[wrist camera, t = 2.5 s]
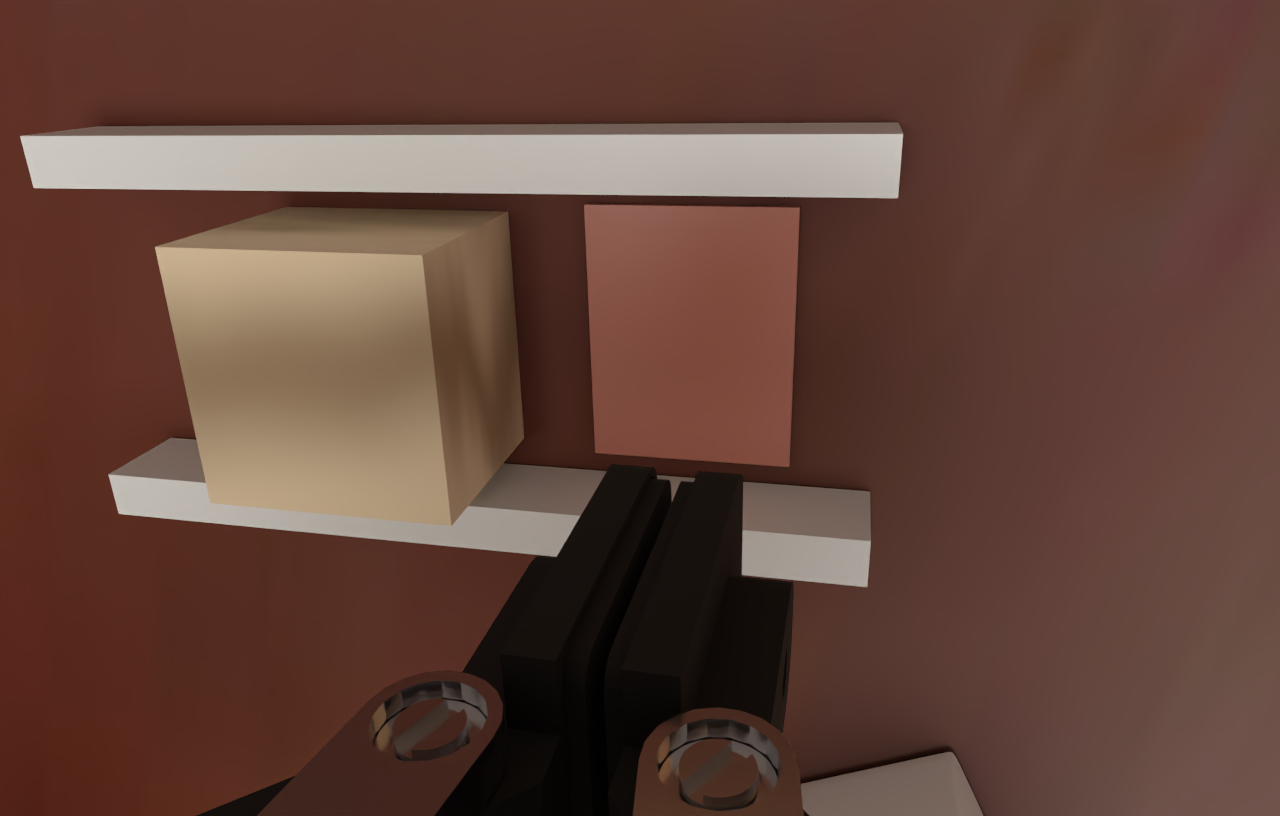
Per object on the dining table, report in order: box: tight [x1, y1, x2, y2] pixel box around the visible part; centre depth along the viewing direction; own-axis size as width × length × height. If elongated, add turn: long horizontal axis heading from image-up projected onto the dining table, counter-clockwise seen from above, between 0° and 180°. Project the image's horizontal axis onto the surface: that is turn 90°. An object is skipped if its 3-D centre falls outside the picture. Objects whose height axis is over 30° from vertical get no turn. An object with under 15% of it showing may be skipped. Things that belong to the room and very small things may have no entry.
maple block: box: [155, 207, 524, 526], centre depth 22 cm, size 6×6×5 cm
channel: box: [20, 122, 903, 587], centre depth 23 cm, size 10×20×2 cm, turn 92°
